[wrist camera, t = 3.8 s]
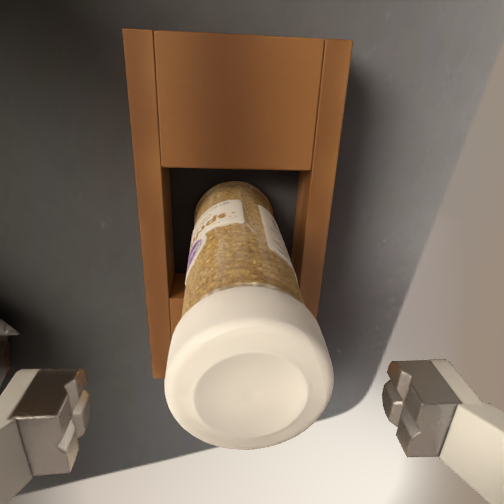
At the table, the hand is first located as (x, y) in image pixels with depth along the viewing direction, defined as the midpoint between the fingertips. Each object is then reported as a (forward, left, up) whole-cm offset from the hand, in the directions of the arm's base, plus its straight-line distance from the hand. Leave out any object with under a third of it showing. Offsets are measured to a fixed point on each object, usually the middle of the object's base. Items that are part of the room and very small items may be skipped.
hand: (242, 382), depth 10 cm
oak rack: (0, 0, -13) cm, 13 cm away
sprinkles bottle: (0, 0, -13) cm, 13 cm away
